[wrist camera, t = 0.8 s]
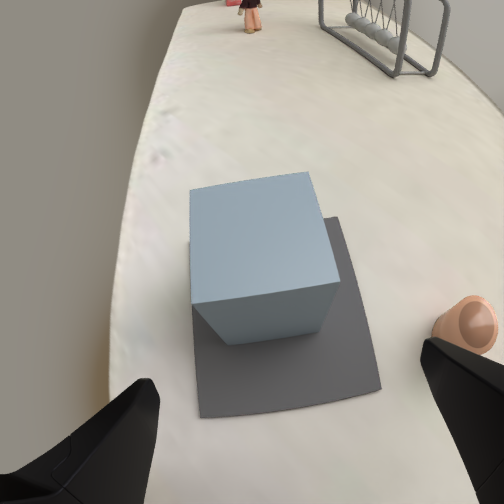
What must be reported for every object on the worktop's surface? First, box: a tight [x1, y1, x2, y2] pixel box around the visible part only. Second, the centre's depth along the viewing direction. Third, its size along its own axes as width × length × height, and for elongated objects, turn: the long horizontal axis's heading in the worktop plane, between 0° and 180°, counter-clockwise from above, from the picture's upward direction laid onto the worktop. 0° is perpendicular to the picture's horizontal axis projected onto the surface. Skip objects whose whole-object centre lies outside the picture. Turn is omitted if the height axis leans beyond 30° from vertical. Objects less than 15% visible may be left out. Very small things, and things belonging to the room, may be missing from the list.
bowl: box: [432, 296, 498, 355], centre depth 19 cm, size 5×5×4 cm
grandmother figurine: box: [238, 0, 262, 33], centre depth 50 cm, size 8×4×13 cm, turn 151°
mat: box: [192, 217, 382, 418], centre depth 24 cm, size 16×14×1 cm
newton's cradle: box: [318, 0, 450, 77], centre depth 40 cm, size 30×10×18 cm, turn 17°
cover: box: [190, 172, 340, 345], centre depth 20 cm, size 7×7×10 cm
